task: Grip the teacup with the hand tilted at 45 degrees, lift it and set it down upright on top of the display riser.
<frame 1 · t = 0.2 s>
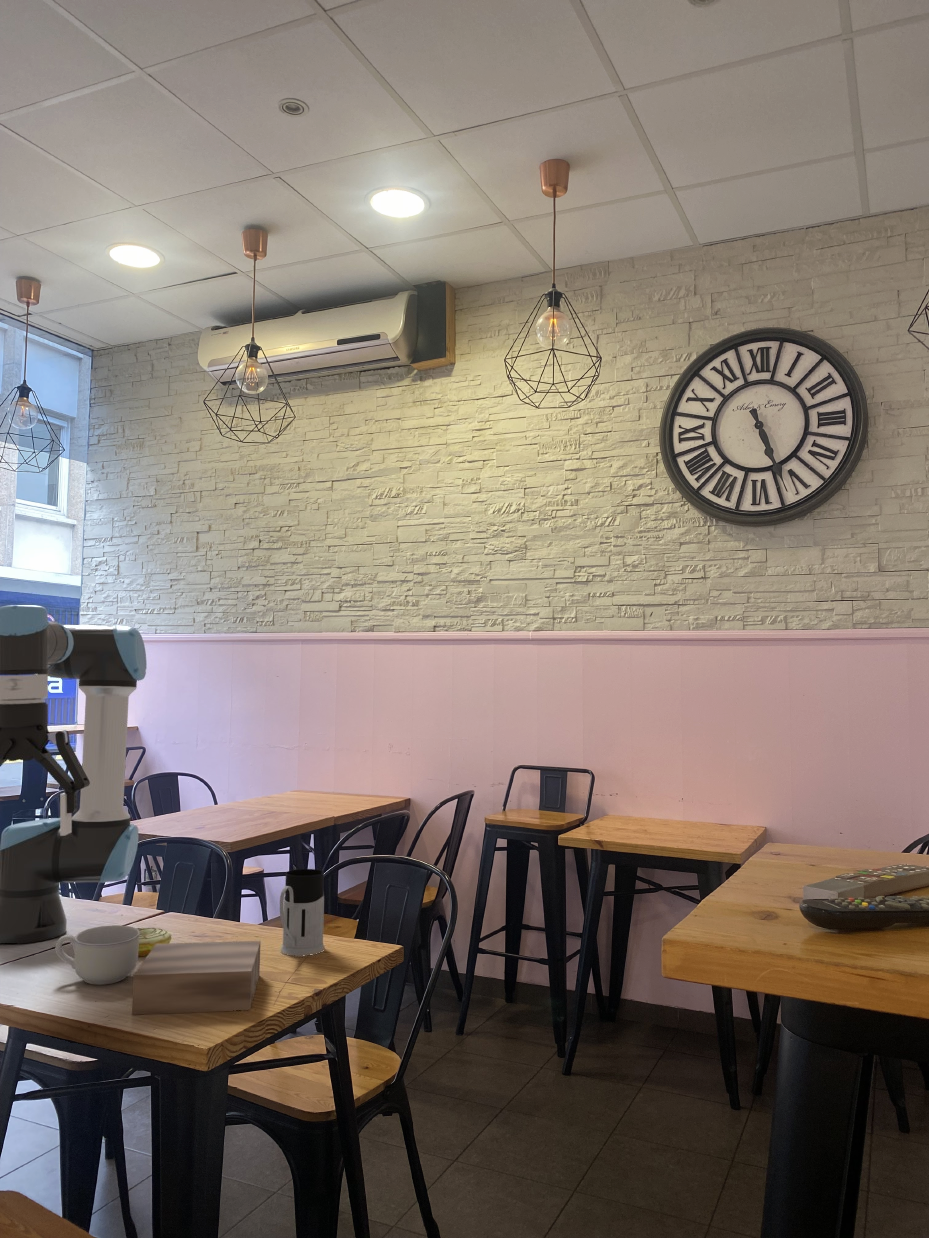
hand: (21, 835, 140), 27 cm above the table, tool pointing down, fingers open, 13 cm apart
riser: (200, 993, 147), on the table
glass holder: (296, 954, 171), on the table
teacup: (96, 980, 154), on the table
decorated donut: (142, 952, 172), on the table
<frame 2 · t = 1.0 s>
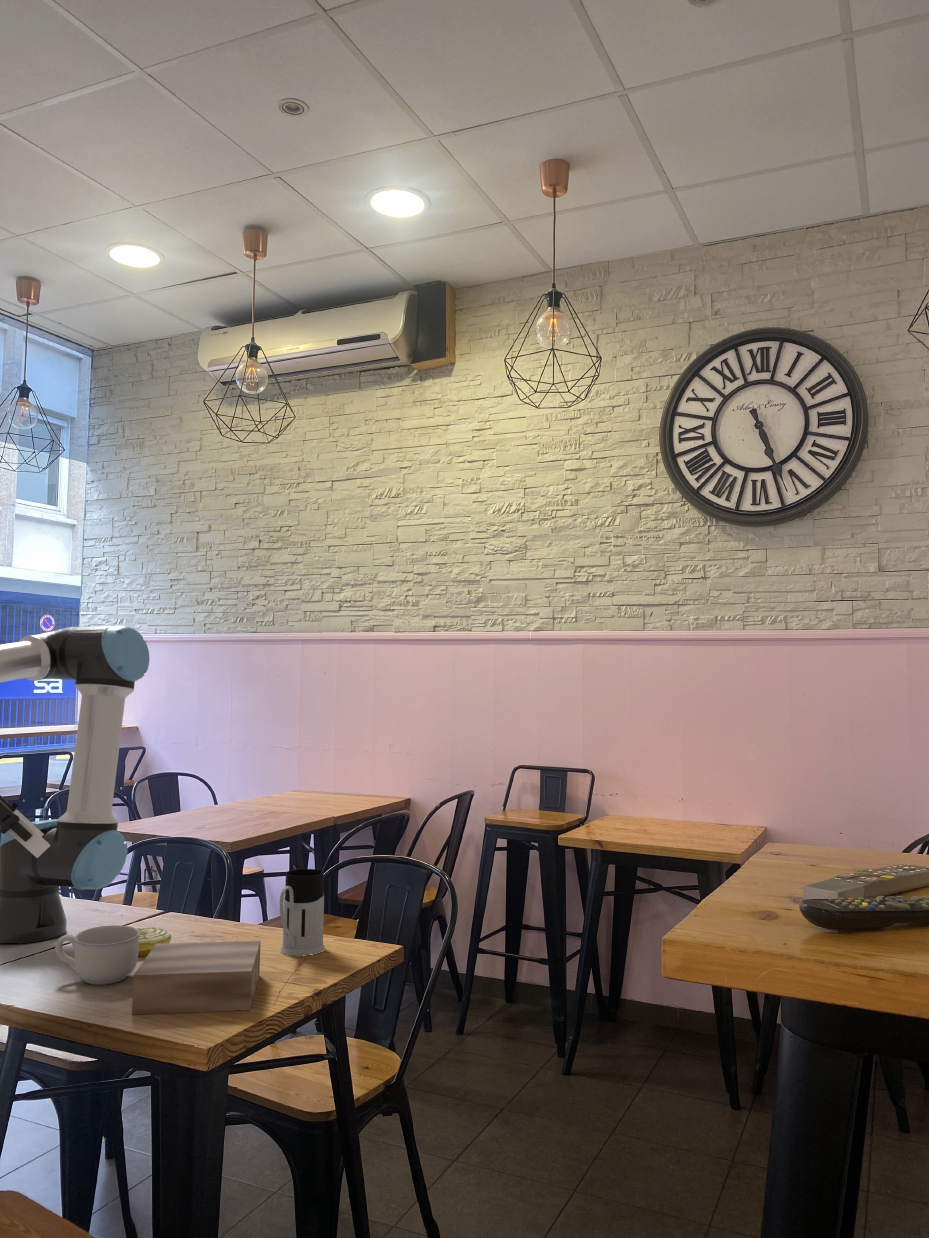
hand: (40, 845, 151), 24 cm above the table, tool tilted 45°, fingers open, 13 cm apart
nothing on the table moved.
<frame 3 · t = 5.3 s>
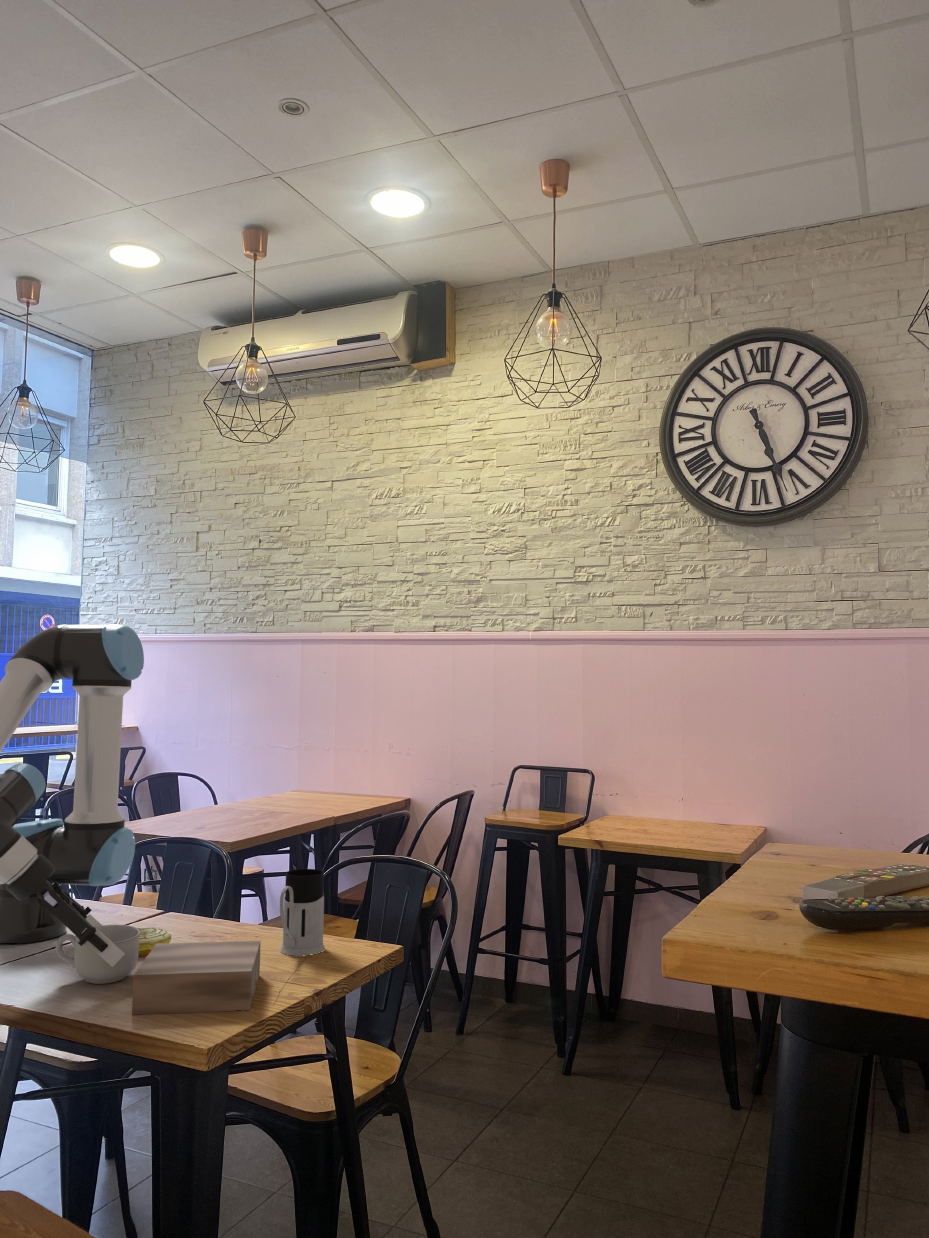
hand: (114, 951, 155), 4 cm above the table, tool tilted 45°, fingers open, 11 cm apart
teacup: (96, 979, 154), on the table, touching gripper
everything else where it was.
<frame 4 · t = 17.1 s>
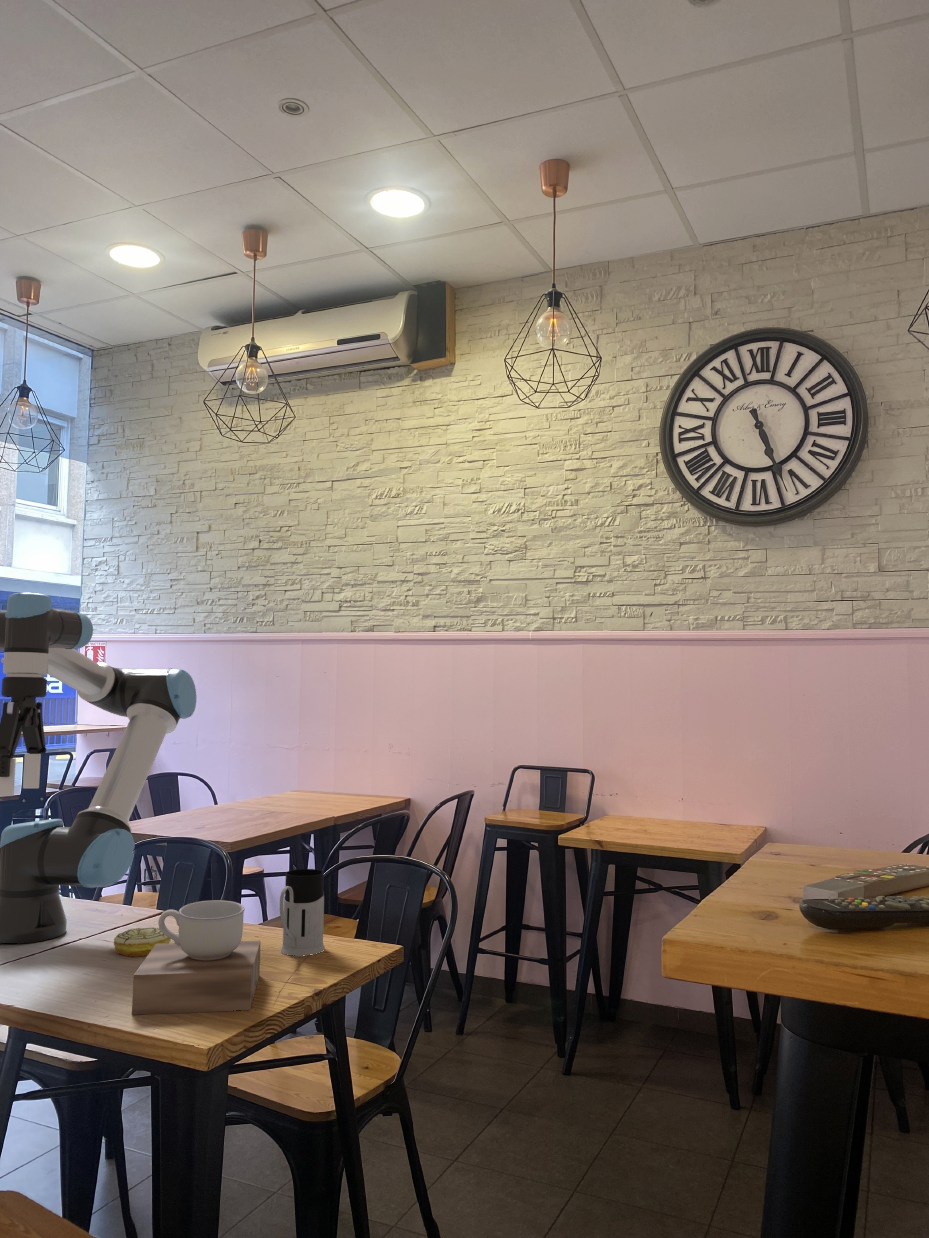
hand: (18, 792, 161), 32 cm above the table, tool pointing down, fingers open, 13 cm apart
teacup: (200, 956, 148), point 6 cm above the table, touching riser
everything else where it was.
at the end: teacup inside the target area on the riser (0.7 cm from its centre), point 5.8 cm above the riser's base; teacup tilted 0°; the gripper is holding nothing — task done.
